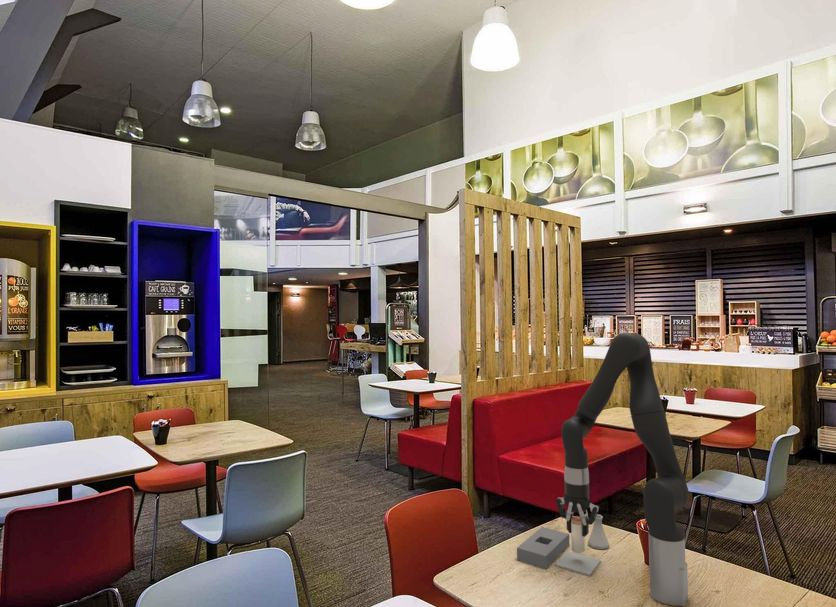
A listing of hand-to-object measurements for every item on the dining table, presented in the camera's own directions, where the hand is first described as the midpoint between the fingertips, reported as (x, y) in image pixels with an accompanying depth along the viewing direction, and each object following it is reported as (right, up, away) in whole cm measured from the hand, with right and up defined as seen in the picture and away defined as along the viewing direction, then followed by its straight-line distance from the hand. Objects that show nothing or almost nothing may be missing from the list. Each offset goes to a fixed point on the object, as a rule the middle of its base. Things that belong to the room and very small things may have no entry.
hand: (577, 533), depth 162 cm
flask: (+11, -10, +13) cm, 20 cm away
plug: (0, -5, 0) cm, 5 cm away
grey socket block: (-9, -10, +8) cm, 15 cm away
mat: (0, -10, 0) cm, 10 cm away
